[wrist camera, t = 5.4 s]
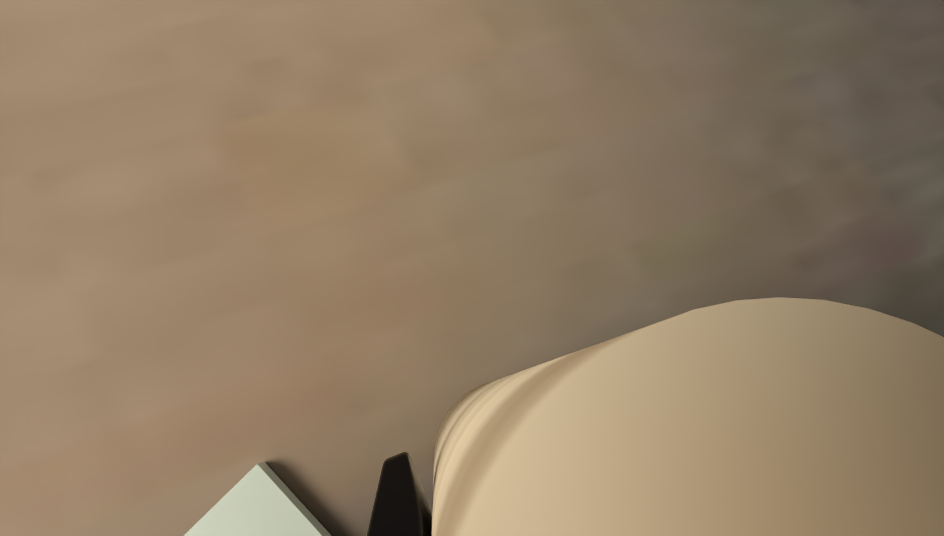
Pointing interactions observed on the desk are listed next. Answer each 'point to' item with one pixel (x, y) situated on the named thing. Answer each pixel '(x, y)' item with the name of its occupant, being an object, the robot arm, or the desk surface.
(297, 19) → the desk surface
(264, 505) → the socket
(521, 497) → the peg
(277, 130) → the desk surface
